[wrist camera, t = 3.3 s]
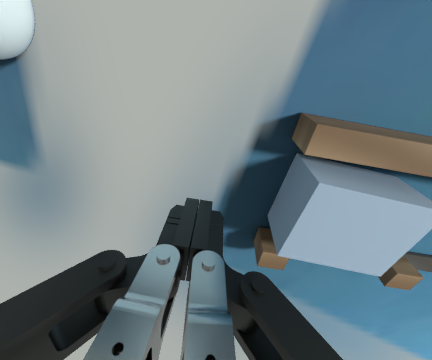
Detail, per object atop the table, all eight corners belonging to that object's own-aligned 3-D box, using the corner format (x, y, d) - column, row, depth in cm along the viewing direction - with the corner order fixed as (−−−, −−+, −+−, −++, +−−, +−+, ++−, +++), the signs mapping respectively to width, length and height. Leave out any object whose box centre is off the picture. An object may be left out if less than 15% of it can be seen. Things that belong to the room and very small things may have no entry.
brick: (295, 151, 13) (319, 182, 10) (393, 174, 14) (449, 212, 10) (267, 213, 16) (277, 255, 13) (348, 231, 16) (380, 276, 13)
